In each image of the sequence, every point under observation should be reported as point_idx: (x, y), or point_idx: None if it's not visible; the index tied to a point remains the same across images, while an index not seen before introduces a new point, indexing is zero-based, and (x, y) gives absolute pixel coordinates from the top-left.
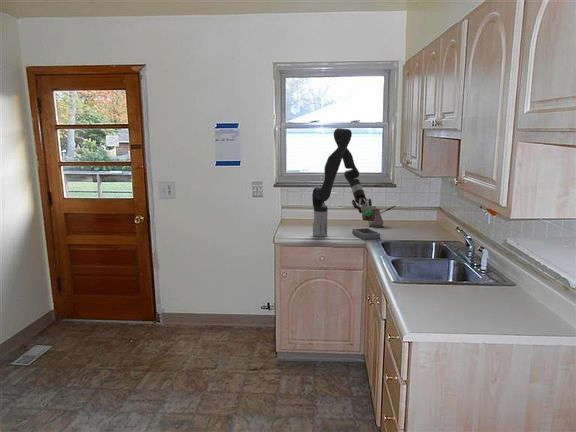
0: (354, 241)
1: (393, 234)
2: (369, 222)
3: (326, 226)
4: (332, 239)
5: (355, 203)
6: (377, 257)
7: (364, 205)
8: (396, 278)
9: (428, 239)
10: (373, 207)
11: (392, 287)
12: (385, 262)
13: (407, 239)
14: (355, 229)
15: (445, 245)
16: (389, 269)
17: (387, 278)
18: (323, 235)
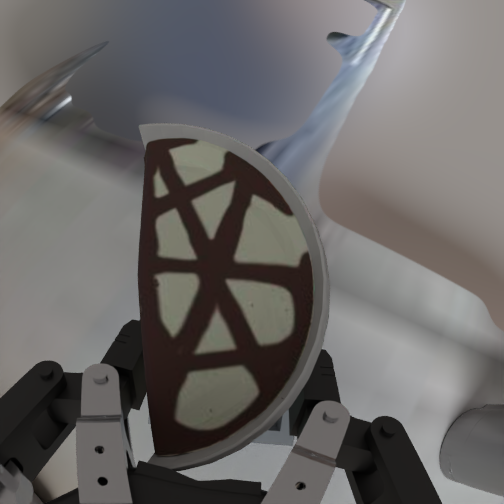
0: (372, 251)
1: (50, 291)
2: None
3: (494, 423)
4: (456, 340)
5: (405, 479)
6: (369, 62)
7: (205, 396)
8: (379, 8)
9: (27, 146)
10: (192, 133)
11: (397, 4)
12: (364, 39)
13: (83, 170)
14: (272, 430)
15: (69, 76)
16: (374, 22)
17: (394, 14)
18: (476, 409)
